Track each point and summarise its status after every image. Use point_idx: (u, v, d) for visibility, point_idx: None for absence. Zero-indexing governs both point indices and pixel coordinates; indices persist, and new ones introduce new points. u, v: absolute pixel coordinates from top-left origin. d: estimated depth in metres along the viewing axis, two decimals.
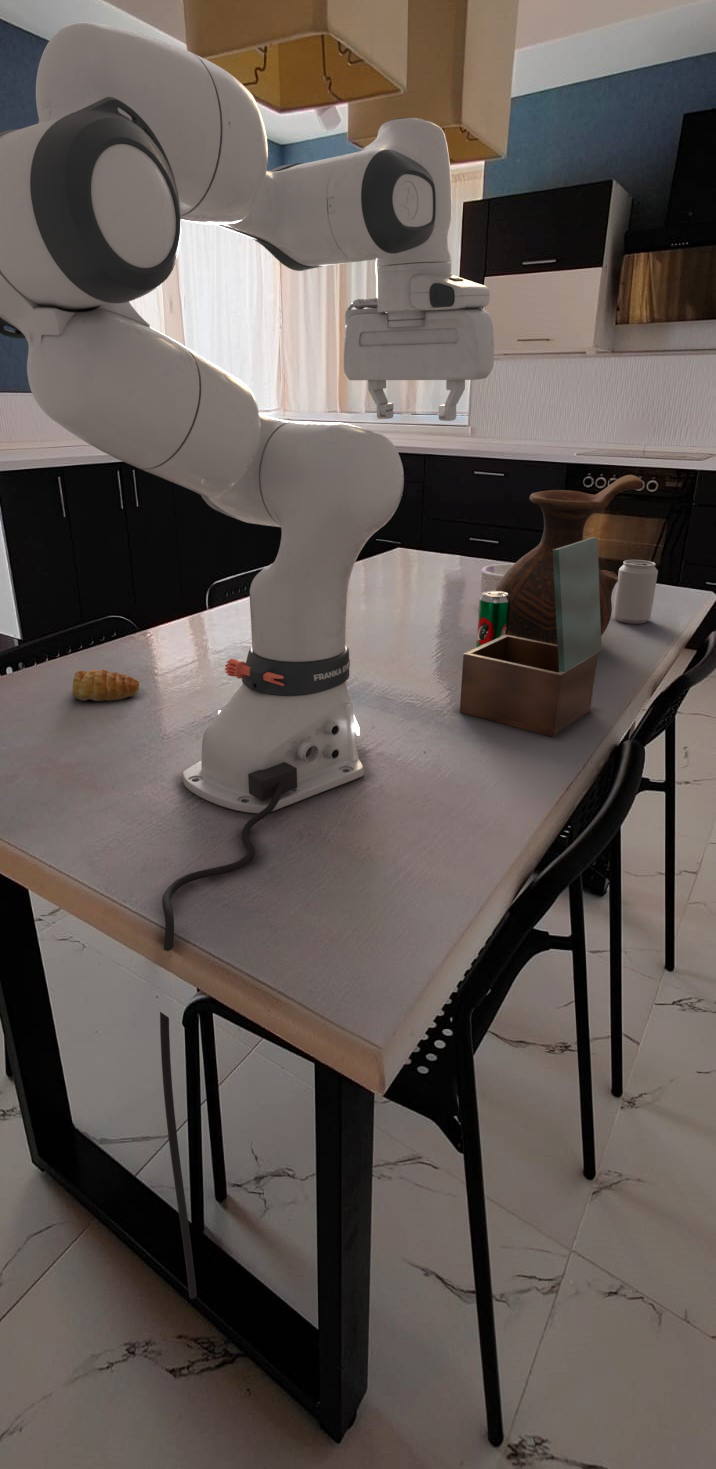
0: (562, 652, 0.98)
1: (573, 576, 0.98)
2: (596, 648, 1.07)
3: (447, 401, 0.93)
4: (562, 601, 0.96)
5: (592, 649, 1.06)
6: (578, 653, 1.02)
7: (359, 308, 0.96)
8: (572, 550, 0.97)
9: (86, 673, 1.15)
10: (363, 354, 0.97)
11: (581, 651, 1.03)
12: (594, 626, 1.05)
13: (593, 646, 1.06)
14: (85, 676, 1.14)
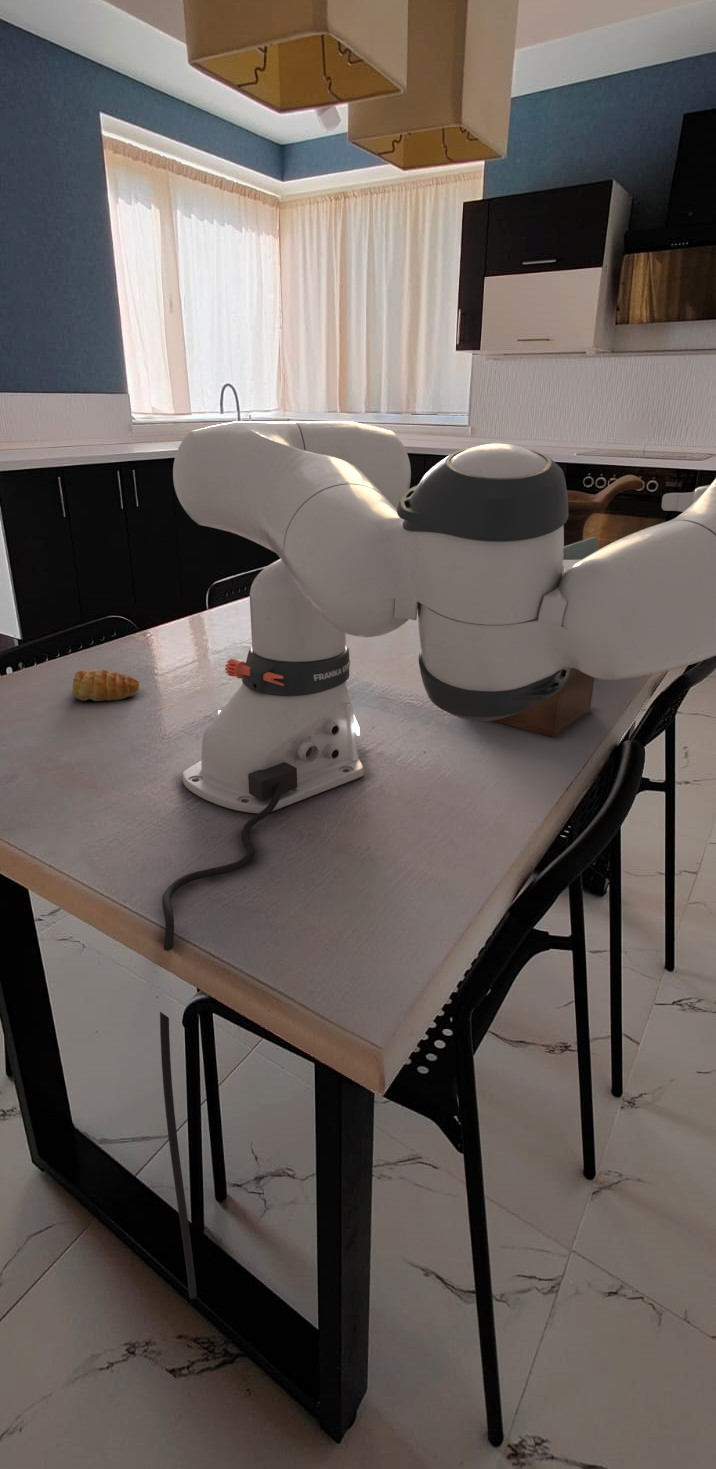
0: None
1: None
2: None
3: None
4: None
5: None
6: None
7: None
8: (572, 550, 0.97)
9: (86, 673, 1.15)
10: None
11: None
12: None
13: None
14: (85, 676, 1.14)
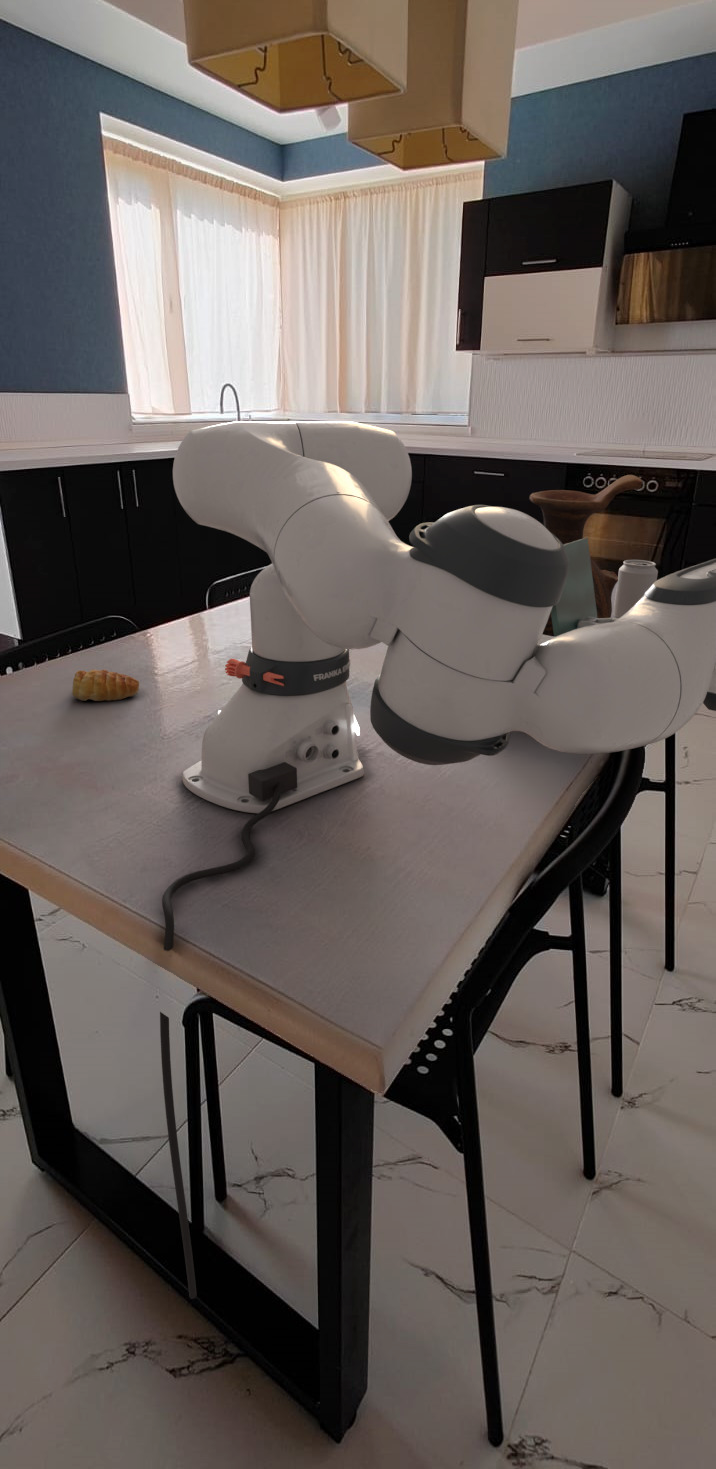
0: None
1: None
2: None
3: None
4: None
5: None
6: None
7: None
8: None
9: (86, 673, 1.15)
10: None
11: None
12: None
13: None
14: (85, 676, 1.14)
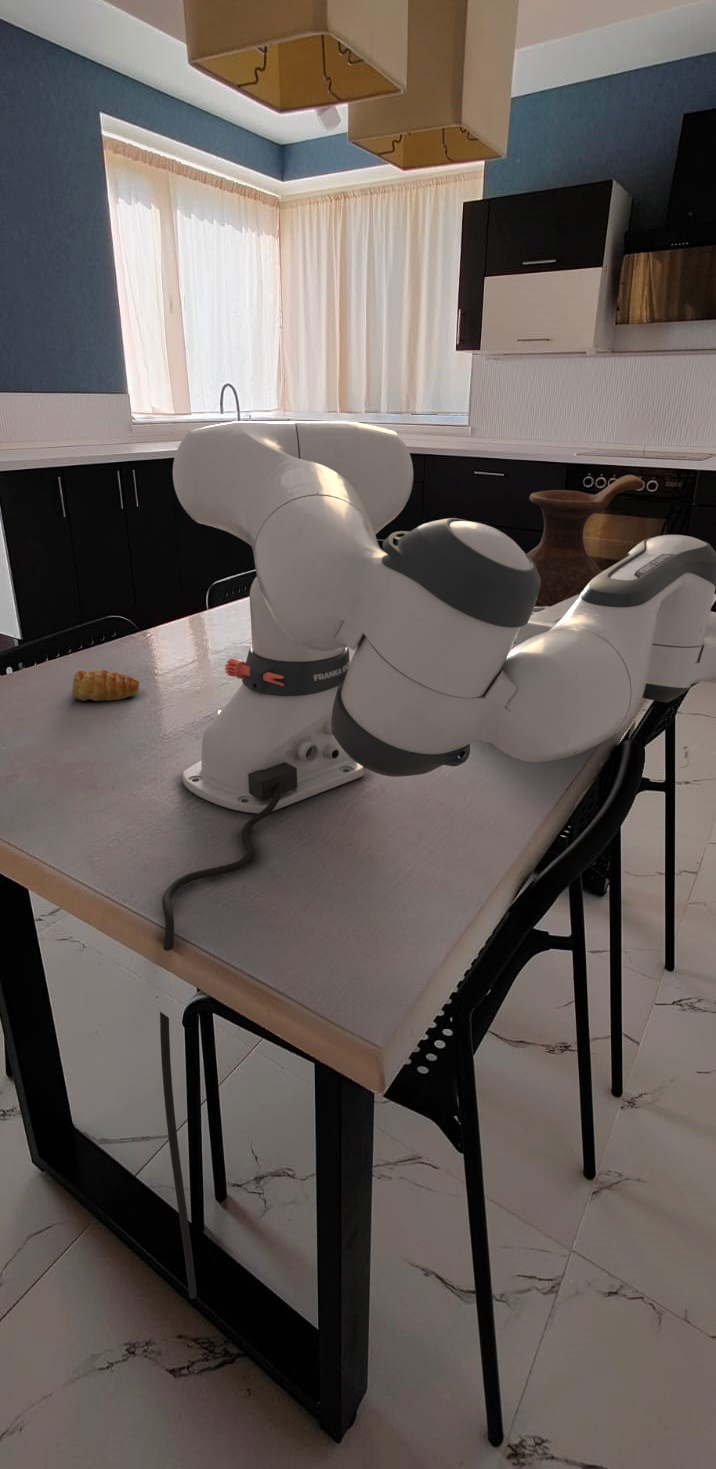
0: None
1: None
2: None
3: None
4: None
5: None
6: None
7: None
8: None
9: (86, 673, 1.15)
10: None
11: None
12: None
13: None
14: (85, 676, 1.14)
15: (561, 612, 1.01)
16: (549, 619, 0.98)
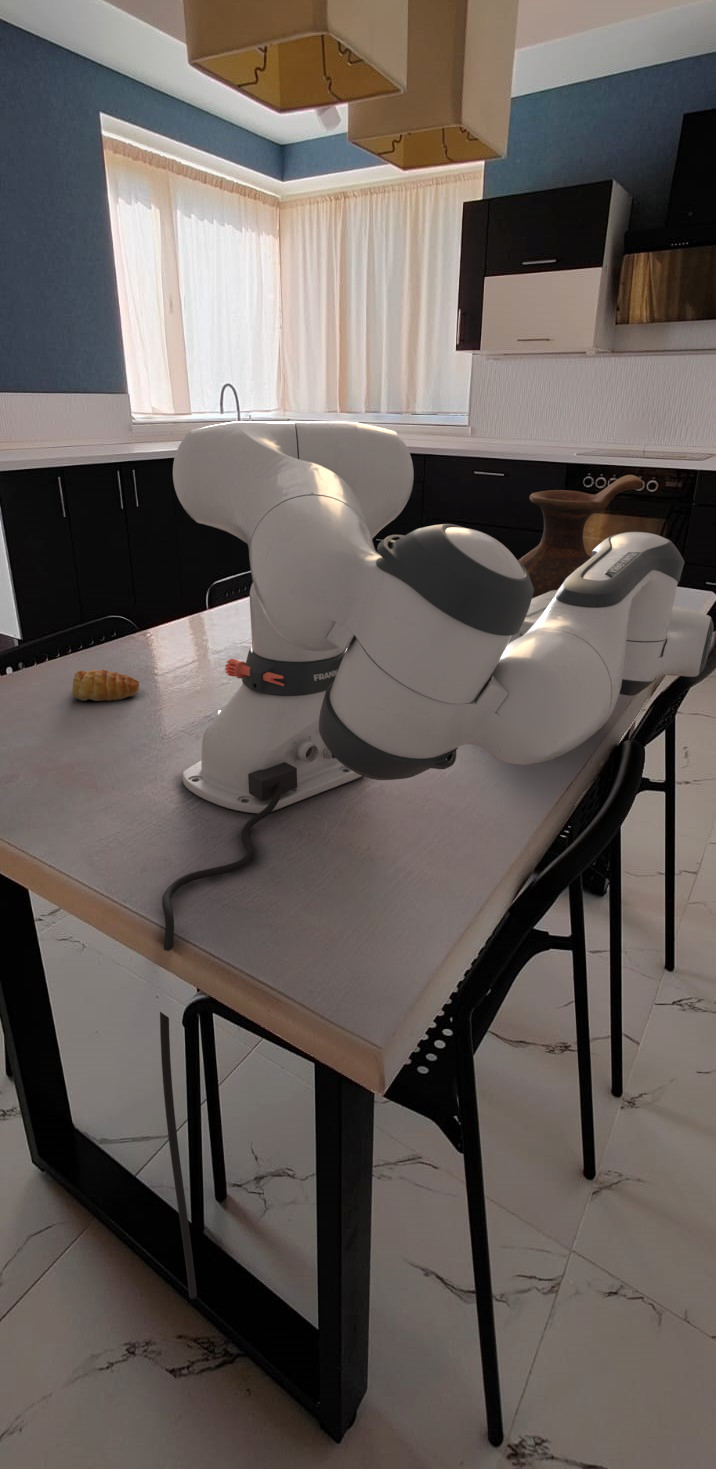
0: None
1: None
2: None
3: None
4: None
5: None
6: None
7: None
8: None
9: (86, 673, 1.15)
10: None
11: None
12: None
13: None
14: (85, 676, 1.14)
15: (533, 607, 1.03)
16: None
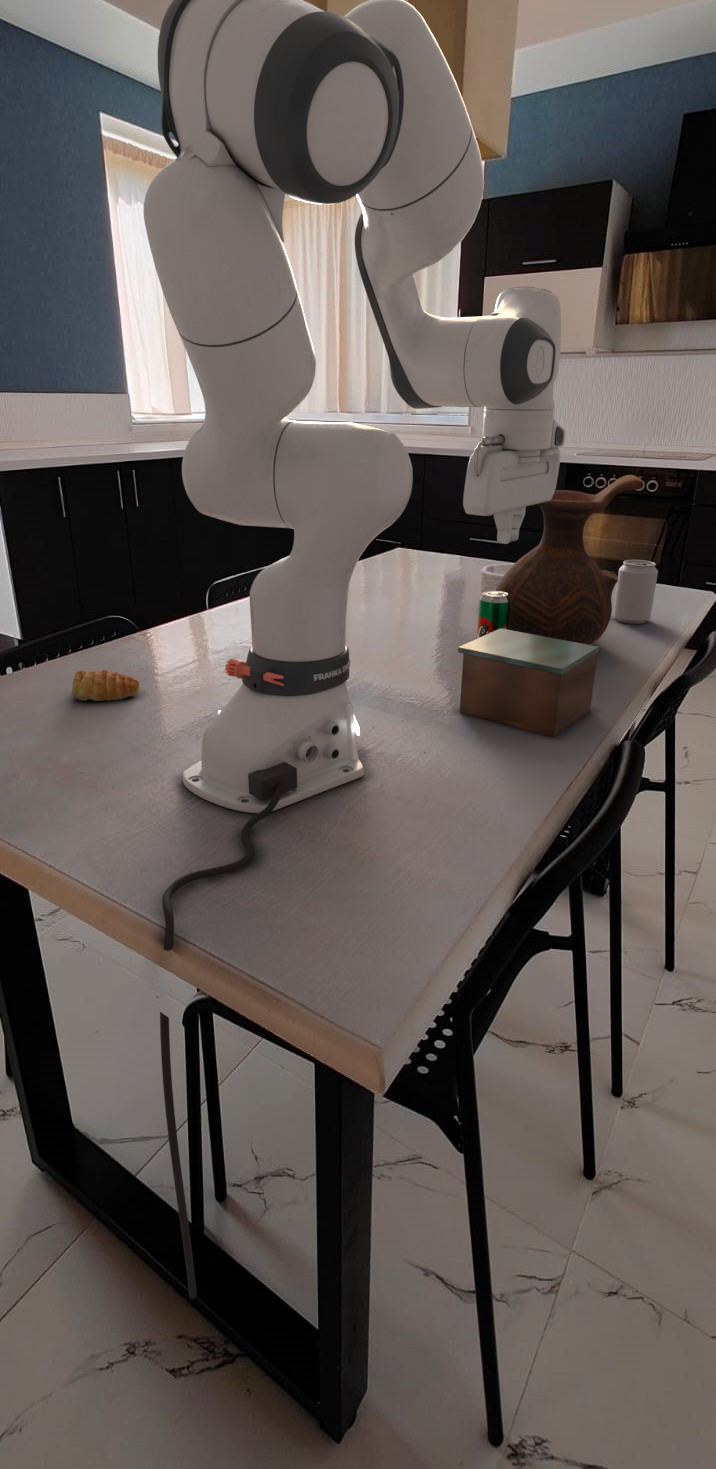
0: (543, 666, 1.01)
1: (496, 645, 1.08)
2: (590, 648, 1.07)
3: (519, 524, 1.05)
4: (500, 655, 1.04)
5: (584, 651, 1.06)
6: (566, 658, 1.03)
7: (489, 445, 0.94)
8: (476, 641, 1.10)
9: (86, 673, 1.15)
10: (501, 489, 0.96)
11: (569, 656, 1.04)
12: (566, 645, 1.09)
13: (583, 650, 1.07)
14: (85, 676, 1.14)
15: None
16: None
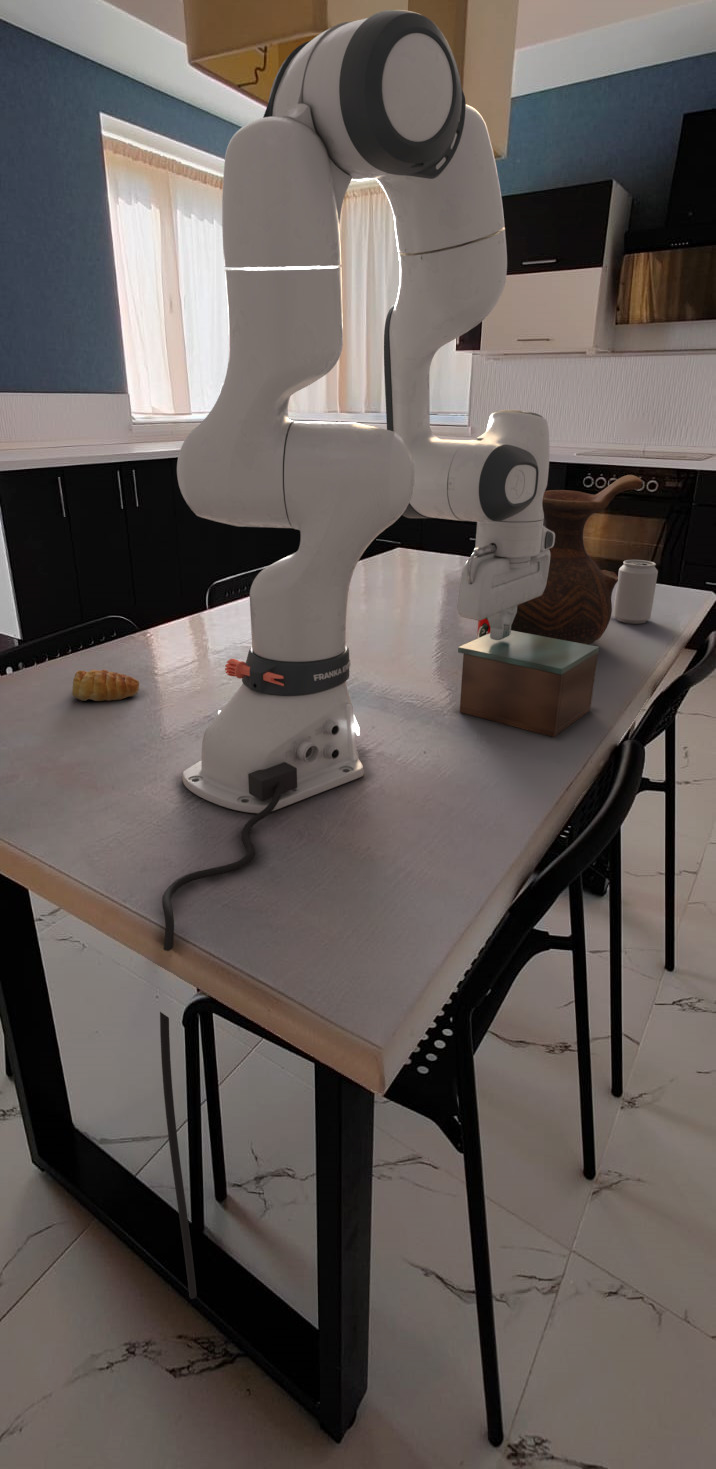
0: (543, 666, 1.01)
1: (496, 645, 1.08)
2: (590, 648, 1.07)
3: (511, 621, 1.10)
4: (500, 655, 1.04)
5: (584, 651, 1.06)
6: (566, 658, 1.03)
7: (481, 555, 0.99)
8: (476, 641, 1.10)
9: (86, 673, 1.15)
10: (493, 594, 1.01)
11: (569, 656, 1.04)
12: (566, 645, 1.09)
13: (583, 650, 1.07)
14: (85, 676, 1.14)
15: None
16: None
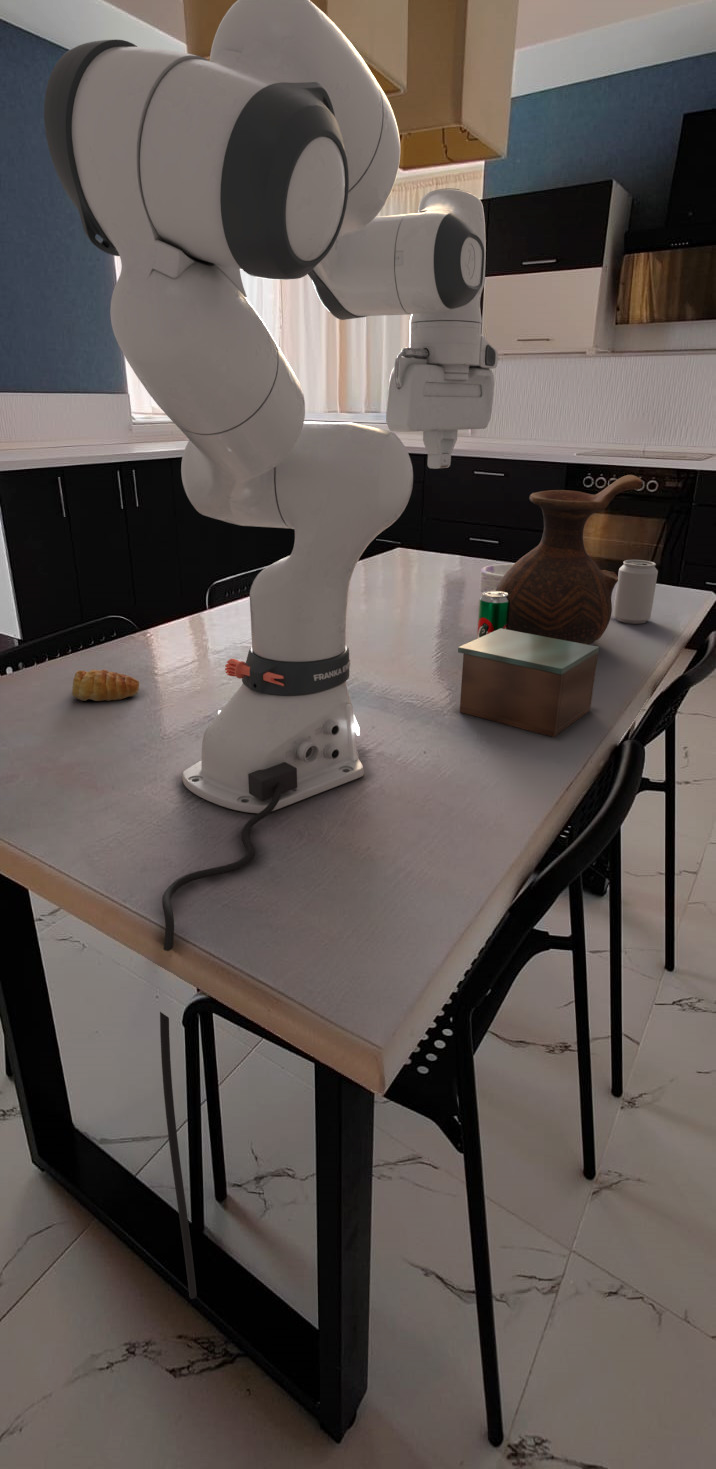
0: (543, 666, 1.01)
1: (496, 645, 1.08)
2: (590, 648, 1.07)
3: (451, 449, 1.01)
4: (500, 655, 1.04)
5: (584, 651, 1.06)
6: (566, 658, 1.03)
7: (410, 357, 0.90)
8: (476, 641, 1.10)
9: (86, 673, 1.15)
10: (425, 404, 0.92)
11: (569, 656, 1.04)
12: (566, 645, 1.09)
13: (583, 650, 1.07)
14: (85, 676, 1.14)
15: None
16: None
